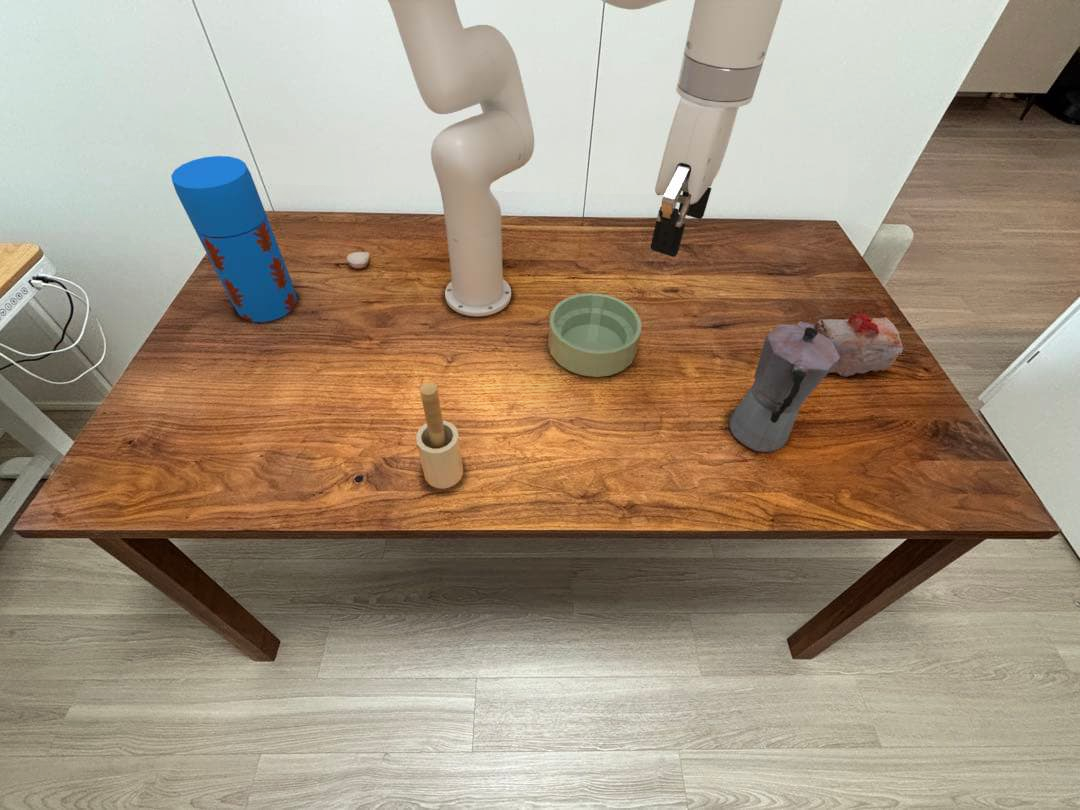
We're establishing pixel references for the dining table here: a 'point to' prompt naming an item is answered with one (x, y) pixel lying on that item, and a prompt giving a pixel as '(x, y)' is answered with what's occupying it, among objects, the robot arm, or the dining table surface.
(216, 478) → the dining table surface
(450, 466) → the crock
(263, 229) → the thermos
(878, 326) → the food item
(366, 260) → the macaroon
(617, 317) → the bowl
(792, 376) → the moka pot
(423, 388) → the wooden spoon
